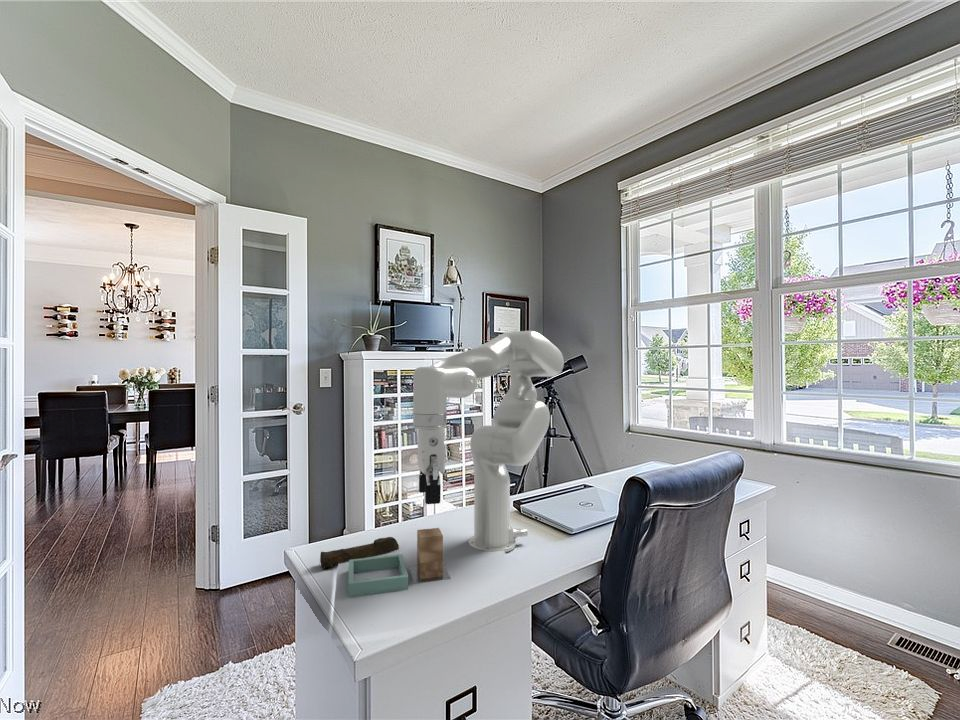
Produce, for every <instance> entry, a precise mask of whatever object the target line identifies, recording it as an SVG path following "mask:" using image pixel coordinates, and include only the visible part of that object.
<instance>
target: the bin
mask: <svg viewBox="0 0 960 720" xmlns="http://www.w3.org/2000/svg"><path fill="white" fill-rule="evenodd" d="M396 568H398V572H399V575H394V576H385V577H377V578H370V579H369V578H368V579H361V580H359V579H358V580H354V576H355V575H354V573H361V572H369V571H378V570H385V569H396ZM347 582H348V584H347V585H348V586H347V589H348V591H347V596H348V597H347V598H349V597H351V598H352V597H357V596H364V595H365V596H366V595H372V594H380V593H389V592H395V591H402V590H409V574H408V570H407V566H406V563H405V558H404V554H403V553H400V554H399V553H398V554H391V555H389V554H388V555H378V556H371V557H367V558H361V559H352V560H349V561H348V581H347Z"/></svg>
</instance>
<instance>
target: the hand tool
mask: <svg viewBox="0 0 960 720" xmlns="http://www.w3.org/2000/svg"><path fill="white" fill-rule="evenodd" d="M399 549H400V545H399V543H398V541H397V539H396V538H395V537H393V536H387V537H380V538H377V539H374V541H373V542H371V543H367V544H362V545H357V546H353V547H347V548H339V549H335V550H329V551H320V556H319V557H320V558H319V560H320V562H319V563H320V567H321V569H322V570H325V569H326V568H329V569H331V568H332V567H334V566H339V564H341V563H345V562H346V563H347V562H349V560H352V559H361V558H370V557H377V556H382V555H384V554H385V555H386V554H389V553H392V552H395V551H397V550H399Z"/></svg>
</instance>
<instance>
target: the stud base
mask: <svg viewBox="0 0 960 720" xmlns="http://www.w3.org/2000/svg"><path fill="white" fill-rule="evenodd" d="M409 569H410V574H411V577H412V581H413V583H414V585H415V584H421V583H422V584H423V583H429V582H430V583H431V582H437V581H444V580H445V581H447V580H451V576H450V573H449V572H448V569H447V567H446V566H445V563H443V577H435V578H427V579H420V577H419V574H418V571H417V566H413V567H412V566H411V567H409Z"/></svg>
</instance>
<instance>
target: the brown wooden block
mask: <svg viewBox="0 0 960 720" xmlns="http://www.w3.org/2000/svg"><path fill="white" fill-rule="evenodd" d="M416 533H417V535H416V538H417V539H416V540H417V541H416V542H417V543H416V549H417V550H416V555H417V556H416V567H417V571H418V574H419V577H420V579H427V578H435V577H443V564H444V535H443V533H442V531H441V529H440V527H433V528H423V529H417V531H416Z"/></svg>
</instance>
